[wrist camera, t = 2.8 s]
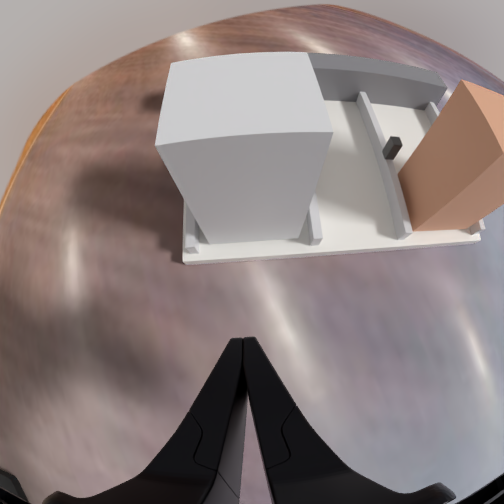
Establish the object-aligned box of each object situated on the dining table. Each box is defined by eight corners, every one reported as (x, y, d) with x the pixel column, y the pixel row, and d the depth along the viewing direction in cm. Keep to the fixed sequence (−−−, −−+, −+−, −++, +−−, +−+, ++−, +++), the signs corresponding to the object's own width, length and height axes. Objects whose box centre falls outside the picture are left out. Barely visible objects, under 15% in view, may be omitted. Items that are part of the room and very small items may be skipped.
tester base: (474, 243, 20) (508, 224, 15) (186, 265, 20) (163, 243, 16) (420, 101, 25) (437, 72, 20) (194, 98, 25) (184, 61, 20)
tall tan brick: (466, 228, 19) (551, 167, 8) (412, 231, 19) (503, 153, 8) (449, 177, 20) (517, 102, 10) (397, 174, 20) (461, 79, 10)
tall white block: (298, 238, 19) (333, 132, 9) (209, 244, 19) (155, 145, 9) (290, 174, 21) (307, 52, 10) (209, 180, 21) (171, 63, 10)
